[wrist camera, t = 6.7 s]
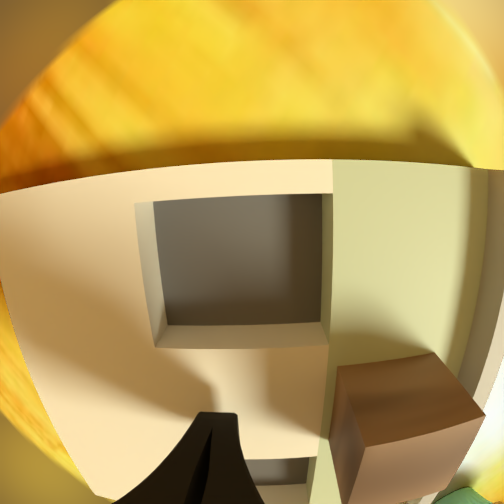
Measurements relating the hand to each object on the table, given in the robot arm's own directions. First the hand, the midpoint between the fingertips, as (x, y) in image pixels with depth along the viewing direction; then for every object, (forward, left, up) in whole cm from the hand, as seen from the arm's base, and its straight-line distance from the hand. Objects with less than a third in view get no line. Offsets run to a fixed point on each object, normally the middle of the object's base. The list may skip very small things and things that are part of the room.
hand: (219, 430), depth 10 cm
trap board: (0, -1, -3) cm, 3 cm away
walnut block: (0, -6, -1) cm, 6 cm away
